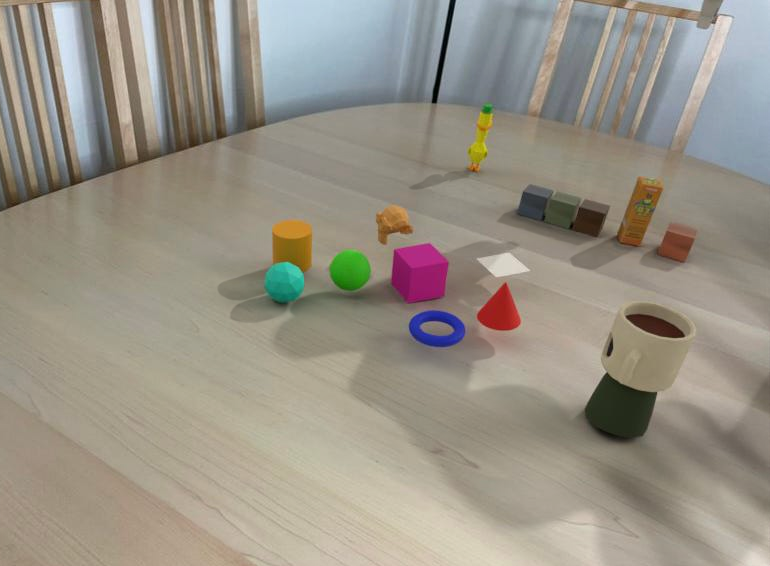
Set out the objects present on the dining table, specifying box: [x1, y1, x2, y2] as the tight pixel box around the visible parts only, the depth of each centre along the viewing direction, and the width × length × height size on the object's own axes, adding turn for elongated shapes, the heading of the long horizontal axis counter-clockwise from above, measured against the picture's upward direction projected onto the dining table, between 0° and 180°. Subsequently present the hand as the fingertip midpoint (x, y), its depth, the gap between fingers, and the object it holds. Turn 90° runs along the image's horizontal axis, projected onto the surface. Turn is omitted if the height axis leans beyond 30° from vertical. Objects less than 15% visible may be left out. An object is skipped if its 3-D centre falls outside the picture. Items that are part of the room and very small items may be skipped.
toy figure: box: [467, 103, 494, 172], centre depth 134 cm, size 7×4×12 cm, turn 161°
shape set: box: [263, 205, 531, 348], centre depth 94 cm, size 29×35×7 cm
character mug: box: [584, 300, 697, 439], centre depth 74 cm, size 11×7×13 cm, turn 140°
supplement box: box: [616, 175, 664, 247], centre depth 113 cm, size 3×3×10 cm
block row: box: [516, 183, 698, 263], centre depth 117 cm, size 4×26×4 cm, turn 59°
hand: (705, 23), depth 115 cm, fingers open, 8 cm apart
